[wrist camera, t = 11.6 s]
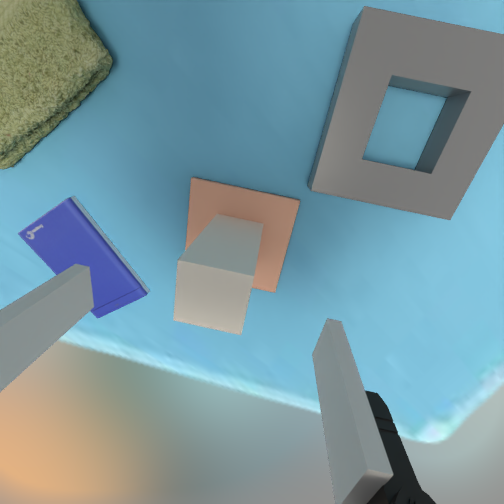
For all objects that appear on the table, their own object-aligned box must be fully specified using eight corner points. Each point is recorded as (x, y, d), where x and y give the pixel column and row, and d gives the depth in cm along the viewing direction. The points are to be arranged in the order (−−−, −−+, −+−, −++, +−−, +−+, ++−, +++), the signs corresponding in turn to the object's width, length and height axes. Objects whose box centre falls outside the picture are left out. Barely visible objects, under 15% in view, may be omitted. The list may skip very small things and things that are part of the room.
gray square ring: (353, 23, 17) (364, 5, 15) (512, 56, 17) (548, 43, 15) (307, 185, 22) (310, 190, 20) (432, 212, 22) (450, 220, 20)
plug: (217, 213, 23) (177, 259, 14) (263, 223, 23) (254, 276, 14) (211, 255, 25) (173, 320, 16) (254, 264, 25) (241, 335, 16)
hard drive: (15, 234, 26) (95, 319, 30) (65, 198, 24) (146, 296, 27) (28, 229, 27) (104, 311, 31) (78, 194, 25) (152, 288, 29)
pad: (193, 177, 23) (191, 178, 22) (299, 199, 22) (300, 201, 22) (185, 270, 27) (183, 272, 26) (274, 289, 27) (274, 292, 26)
